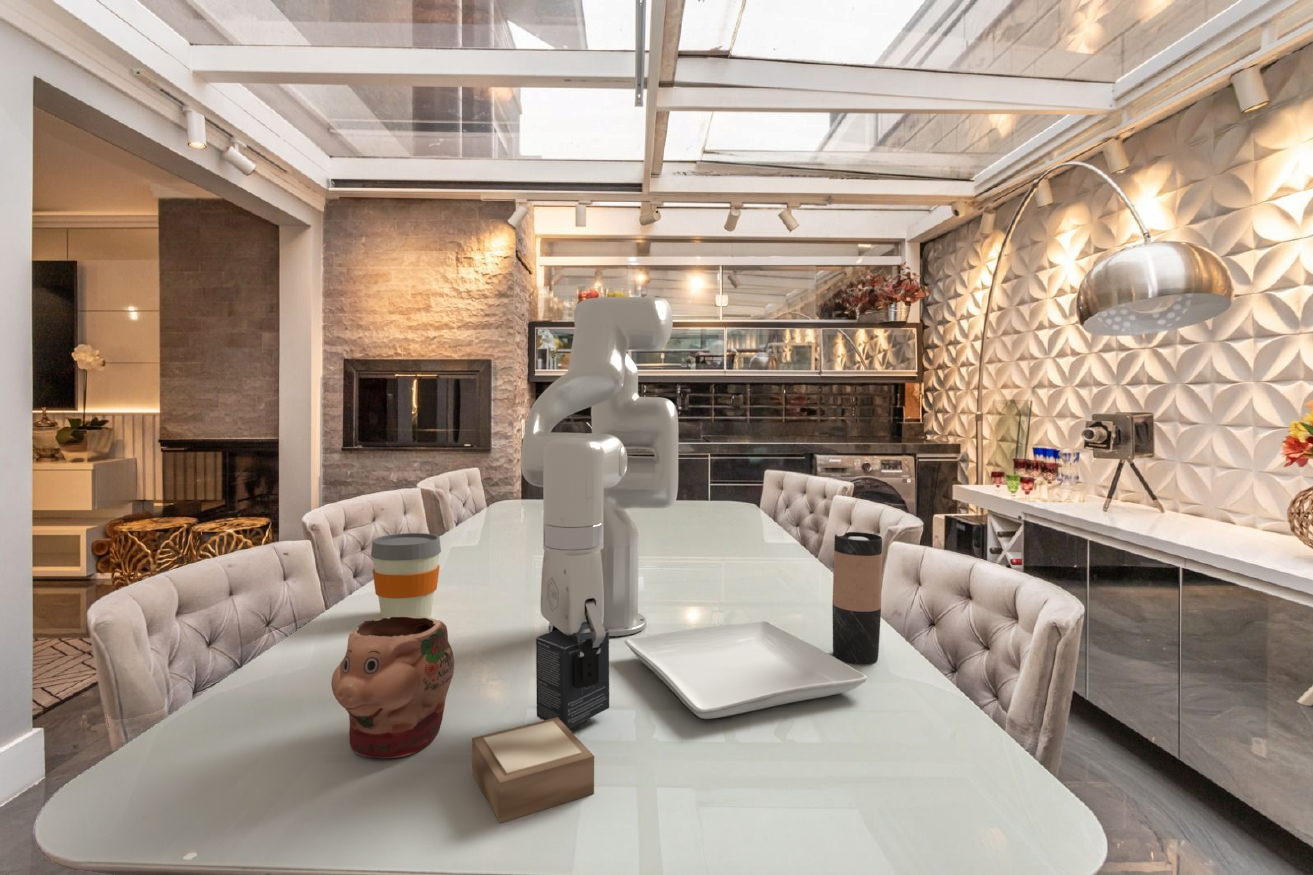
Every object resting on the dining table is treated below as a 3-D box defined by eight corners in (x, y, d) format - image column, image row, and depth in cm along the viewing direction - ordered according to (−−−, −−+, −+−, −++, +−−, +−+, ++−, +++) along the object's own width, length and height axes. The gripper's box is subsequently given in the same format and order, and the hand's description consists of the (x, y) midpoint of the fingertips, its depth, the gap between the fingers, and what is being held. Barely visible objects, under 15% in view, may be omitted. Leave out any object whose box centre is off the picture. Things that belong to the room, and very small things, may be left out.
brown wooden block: (471, 773, 72) (471, 736, 72) (557, 750, 77) (557, 715, 77) (500, 823, 64) (500, 780, 64) (594, 793, 69) (594, 754, 69)
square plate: (621, 660, 107) (621, 636, 107) (765, 639, 118) (766, 617, 117) (697, 737, 82) (697, 706, 82) (870, 701, 93) (871, 674, 93)
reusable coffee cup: (440, 604, 135) (440, 531, 134) (441, 623, 123) (441, 543, 122) (374, 609, 131) (373, 534, 130) (367, 629, 119) (367, 547, 118)
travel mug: (882, 667, 104) (886, 541, 103) (832, 663, 105) (835, 539, 105) (876, 650, 111) (879, 533, 111) (829, 646, 113) (832, 530, 112)
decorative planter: (397, 696, 92) (396, 597, 91) (481, 702, 90) (481, 601, 89) (302, 774, 72) (301, 648, 71) (408, 784, 70) (408, 655, 70)
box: (580, 696, 89) (580, 619, 89) (610, 709, 86) (611, 630, 85) (534, 717, 83) (534, 635, 83) (564, 732, 80) (565, 647, 79)
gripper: (521, 526, 89) (522, 656, 90) (573, 554, 74) (573, 709, 75) (573, 521, 92) (572, 646, 94) (632, 547, 77) (631, 694, 79)
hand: (573, 672), depth 84 cm, fingers closed on box, 7 cm apart
